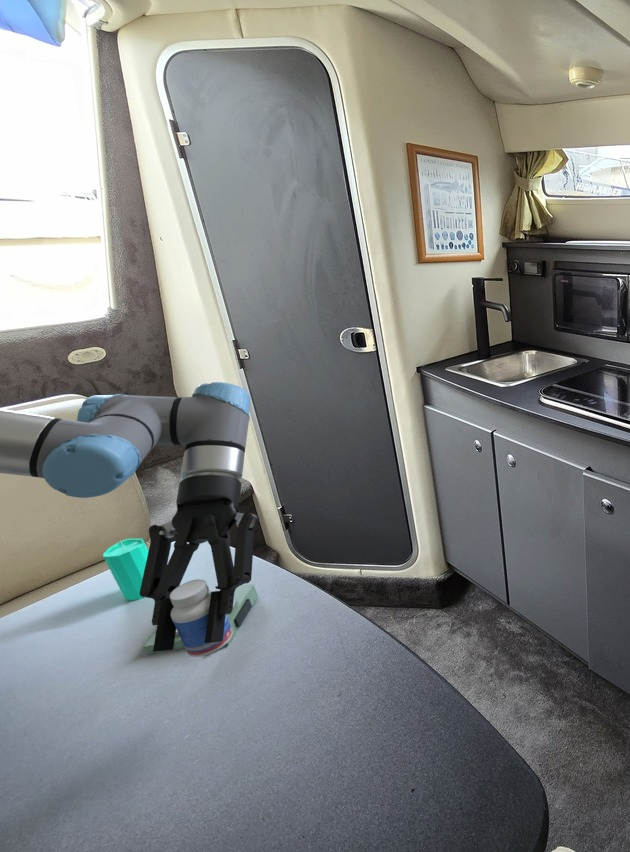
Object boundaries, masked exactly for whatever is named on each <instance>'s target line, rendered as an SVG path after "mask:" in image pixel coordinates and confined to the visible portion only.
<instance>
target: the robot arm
mask: <svg viewBox="0 0 630 852" xmlns="http://www.w3.org/2000/svg"><path fill="white" fill-rule="evenodd" d="M250 404H251V396H250V394H249V393H248V391H247V390H246V389H244V388H242V387H241V386H239V385H236V384H232V383H229V382H223V381H222V382H221V381H213V382H210V383H207V382H206V383H202V384H199V385H197V386H196V387H195V389H194V392H193V393H192V395H191V396H181V397H179V396H176V397H175V396H151V395H129V394H123V393H118V394H101V395H99V394H98V395H96V394H95V395H92V396H90V397H87V398H86V399H85V400H84V401H83V402H82V404H81V407H80V408H79V409H78V412H77V416H76V420H72V419H67V418H66V419H65V418H60V417H59V418H58V417H54V416H53V417H52V416H48V415H42V414H40V415H39V414H34V413H29V412H23V411H16V410H9V409H3V408H0V474H6V475H14V476H23V477H32V478H39V479H44V481H45V482H46V483H47V485H48V486H49V487H50V488H52V489H53V490H55V491H58V492H59V493H62V494H64V495H65V496H67V497H71V498H79V499H80V498H81V499H88V498H89V499H91V498H97V497H101V496H104V495H107V494H109V493H111V492H113V491H115V490H117V489H118V488H119V487H120V486H121V485H122V484H124V483H125V482H126V481H127V480H129V479H130V478H131V477H132V476H133V475H134V474H135V473H136V471H137V469H139V467H140V465H141V464H142V463H143V460H144V459H145V458H146V457H147V456H148V455H149V454H150V452H151V451H152V450H153V449H154V448H155V447H157V446H185V447H184V453H183V458H182V464H181V470H180V478H181V479H182V480H181V481H180V482H179V483H178V489H177V496H176V512H175V514H174V515H173V516H172V518H171V521H168V522H166V523H163V524H161V525H157V524H152V525H150V526H149V528H148V535H149V536H148V537H149V541H150V543H149V548H148V551H149V552H148V556H147V561H146V565H145V570H144V575H143V579H142V584H141V588H140V596H141V597H143V598H147V599H152V600H153V601H154V606H153V611H152V618H151V624H152V626H156V630H155V631H156V636H155V642H154V648H153V652H157V651H164V652H169V651H174V650H173V647H174V640H175V634H176V627H175V625H174V623H173V621H172V618H171V615H170V614H171V610H172V608H173V607H174V606H173V604H172V602H171V599H170V594H171V592H172V591H173V590H174V589H176V588H177V587H178V586H180V585H181V584H182V580H183V579H184V576H185V574H186V571H187V569H188V567H189V564H190V562H191V560H192V557H193V555H194V553H195V552H196V551H198V549H199V547H200V545H201V544H204V543H208V545H209V546H210V549H211V555H212V560H213V566H214V572H215V577H216V582H217V586H214V587H215V590H220V591H213V590H211V591H212V592H211V598H210V606H209V613H208V621H207V629H206V637H205V643H211V642H220V641H223V634H224V626H225V617H226V614H231V612H232V610H233V602H234V593H235V590H236V588H237V587H239V586H244V585H248V584H249V583H250V582H251V581H252V574H253V560H254V559H253V558H254V544H255V543H254V542H255V541H254V540H255V531H256V528H257V526H258V524H259V521H260V516H258V515H257V514H253V513H250V512H245V513H243V512H241V511H240V509H239V503H240V502H241V501H240V499H241V493H242V491H241V490H242V481H240V480H241V479H242V478H243V472H244V464H245V463H244V462H245V453H246V446H247V438H248V433H249V432H248V431H249V424H250V418H251V417H250V409H251V408H250V407H251V405H250ZM234 525H236V527H237V528H236V534H235V536H236V537H235V548H234V558H233V556H232V555H233V554H232V550H231V546H230V545H231V542H232V541H231V535H230V532H229V531H230V530H231V529H232V528H233V527H234ZM174 532H176V533H177V536H176V539H175V541H174V544H173V551H172V553H171V556H170V552H171V547H172V538H173V537H175V533H174ZM233 559H234V560H233ZM168 650H169V651H168Z"/></svg>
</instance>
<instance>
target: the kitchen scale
mask: <svg viewBox="0 0 630 852" xmlns="http://www.w3.org/2000/svg"><path fill="white" fill-rule="evenodd" d="M212 591H220V589H214V590H212ZM258 597H259V594H258V592H257V590H256V587H255V585H254V583H251V584H244V585H241V586H239V587H237V588H236V590H235V593H234V602H233V610H232V612H231V614H226V615H227V618H228V620H229V623H230V625H231V627H232V631H233V633H232V636H231V638H230V640H229V641H228V642H227V643H226V644H225V645H224V646H223V647H228V646H230V644H231V642H232V641H233V639H234V637H235V636H236V634H237V632H238V631H239V629H240V627H241V626H242V624H243V622H244V621H245V619H246V618H247V616H248V615H249V612H250V610H251V608H252V607H253V605H254V603H255V602H256V600H257V599H258ZM155 636H156V630H155V631H154V633H152V635H151V636H150V637H149V639H148V640H147V641H146V642H145V644H144V645H143V649H144V651H145V653H146V655H153V654H159V653H163V652H165V651H157V652H153V648H154V642H155ZM180 649H185V647H184V644H183V642H182V640H181V638H180V636H179V633H178V631H177V629H176V634H175V640H174V647H173V650H172V651H175V650H180ZM169 651H170V650H168V651H167V652H169Z"/></svg>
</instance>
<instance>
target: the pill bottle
mask: <svg viewBox="0 0 630 852" xmlns="http://www.w3.org/2000/svg"><path fill="white" fill-rule="evenodd" d="M212 591H213V590H210V587H209V586H208V584H207V582H206V581H205V580H204V579H199V578H197V579H191V580H188V581H186V582H184V583H181V584H180V585H179V586H178V587H177V588H176V589H174V590H173V591H172V592H171V594H170V599H171V602H172V604H173V606H174V607H173V608H172V610H171V614H170V615H171V618H172V621H173V623H174V625H175V627H176V629H177V631H178V633H179V636H180V638H181V640H182V642H183V644H184V647H185V648H184V649H185V651H186V653H187V654H188V656H190V657H193V658H200V657H201V658H202V657H205V656H208V655H210V654H214V653H215V652H217V651H219V650H221V649H222V648H223V647H225V646H224V645H225V644H226V643H227V642H228V641H229V640H230V638H231V636H232V633H233V631H232V627H231V625H230V623H229V620H228V618H227V615H226V617H225V626H224V634H223V641H220V642H211V643H205V637H206V629H207V621H208V613H209V606H210V598H211V592H212Z"/></svg>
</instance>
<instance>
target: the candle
mask: <svg viewBox="0 0 630 852" xmlns="http://www.w3.org/2000/svg"><path fill="white" fill-rule="evenodd" d="M148 552H149V548H148V547H147V544H146V542H145V541H144V538H126V539H123V540H121V539H120V540H119V542H116V543H115V544H113V545H111V546H110V547H108V548H106V550H105V551H104V552H103V554H102V557H103V560H104V561H105V563H106V565H107V566H108V568H109V571H110V573H111V574H112V576H113V578H114V580H115V582H116V584H117V586H118V588H119V590H120V592H121V594H122V596H123V598H124V599H125V600H126V601H136V600H141V599H143V598H144V597H141V596H140V588H141V584H142V579H143V575H144V570H145V565H146V561H147V556H148Z"/></svg>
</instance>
